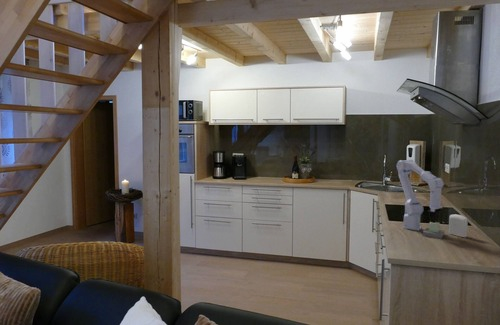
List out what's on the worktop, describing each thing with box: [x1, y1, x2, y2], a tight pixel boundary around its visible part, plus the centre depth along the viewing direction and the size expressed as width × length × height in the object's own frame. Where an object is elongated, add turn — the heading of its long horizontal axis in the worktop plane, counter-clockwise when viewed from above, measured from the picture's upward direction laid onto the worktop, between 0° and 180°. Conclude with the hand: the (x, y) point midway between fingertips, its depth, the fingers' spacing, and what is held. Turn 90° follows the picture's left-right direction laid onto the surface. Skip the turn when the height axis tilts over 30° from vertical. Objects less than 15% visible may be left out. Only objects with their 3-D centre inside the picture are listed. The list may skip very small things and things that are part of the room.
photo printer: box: [448, 213, 469, 238], centre depth 226 cm, size 10×4×12 cm, turn 29°
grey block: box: [422, 227, 445, 239], centre depth 227 cm, size 10×10×3 cm
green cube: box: [428, 220, 441, 233], centre depth 227 cm, size 5×5×5 cm
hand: (434, 221), depth 227 cm, fingers open, 7 cm apart
